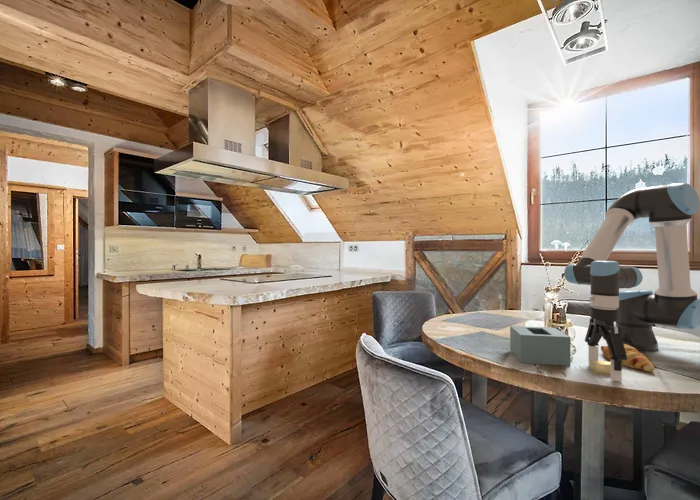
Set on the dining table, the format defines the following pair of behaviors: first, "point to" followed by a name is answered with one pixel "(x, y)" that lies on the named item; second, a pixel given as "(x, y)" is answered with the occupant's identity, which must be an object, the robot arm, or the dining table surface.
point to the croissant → (632, 358)
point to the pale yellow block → (600, 367)
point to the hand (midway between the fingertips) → (603, 372)
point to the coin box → (540, 345)
